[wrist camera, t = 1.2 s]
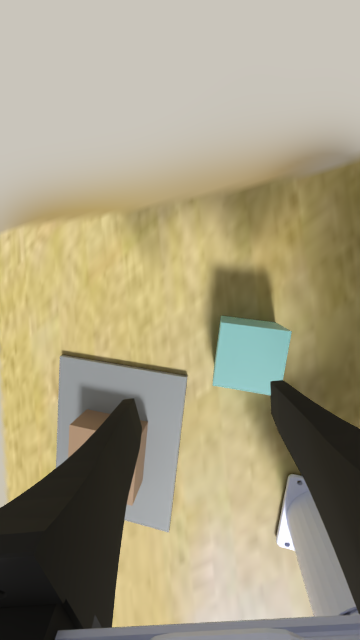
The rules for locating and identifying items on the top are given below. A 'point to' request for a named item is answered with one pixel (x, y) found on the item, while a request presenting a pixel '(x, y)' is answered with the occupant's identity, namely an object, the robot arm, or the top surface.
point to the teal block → (250, 354)
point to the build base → (149, 407)
